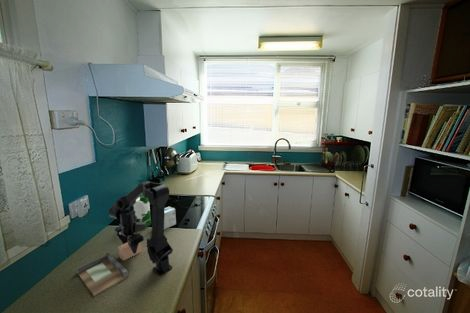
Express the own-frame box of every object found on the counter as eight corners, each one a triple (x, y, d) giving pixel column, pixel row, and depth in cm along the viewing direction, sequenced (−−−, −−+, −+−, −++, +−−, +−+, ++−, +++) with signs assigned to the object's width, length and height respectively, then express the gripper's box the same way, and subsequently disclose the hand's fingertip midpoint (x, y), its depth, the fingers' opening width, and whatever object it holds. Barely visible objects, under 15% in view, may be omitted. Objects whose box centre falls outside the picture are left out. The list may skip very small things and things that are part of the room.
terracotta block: (141, 252, 108) (140, 241, 107) (123, 261, 101) (122, 250, 100) (137, 248, 111) (136, 238, 110) (119, 257, 104) (118, 246, 103)
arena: (128, 276, 91) (127, 270, 90) (94, 296, 81) (93, 289, 80) (109, 258, 103) (108, 252, 103) (77, 273, 93) (76, 267, 93)
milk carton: (143, 230, 129) (140, 199, 125) (132, 227, 132) (129, 197, 129) (153, 223, 137) (151, 194, 133) (143, 221, 140) (140, 192, 137)
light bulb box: (170, 221, 140) (169, 205, 139) (176, 224, 136) (175, 208, 134) (155, 227, 132) (154, 211, 130) (161, 230, 128) (160, 214, 126)
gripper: (152, 220, 103) (155, 248, 106) (134, 210, 115) (136, 236, 117) (130, 229, 95) (133, 260, 97) (112, 217, 106) (115, 245, 109)
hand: (130, 249), depth 106 cm, fingers open, 9 cm apart
